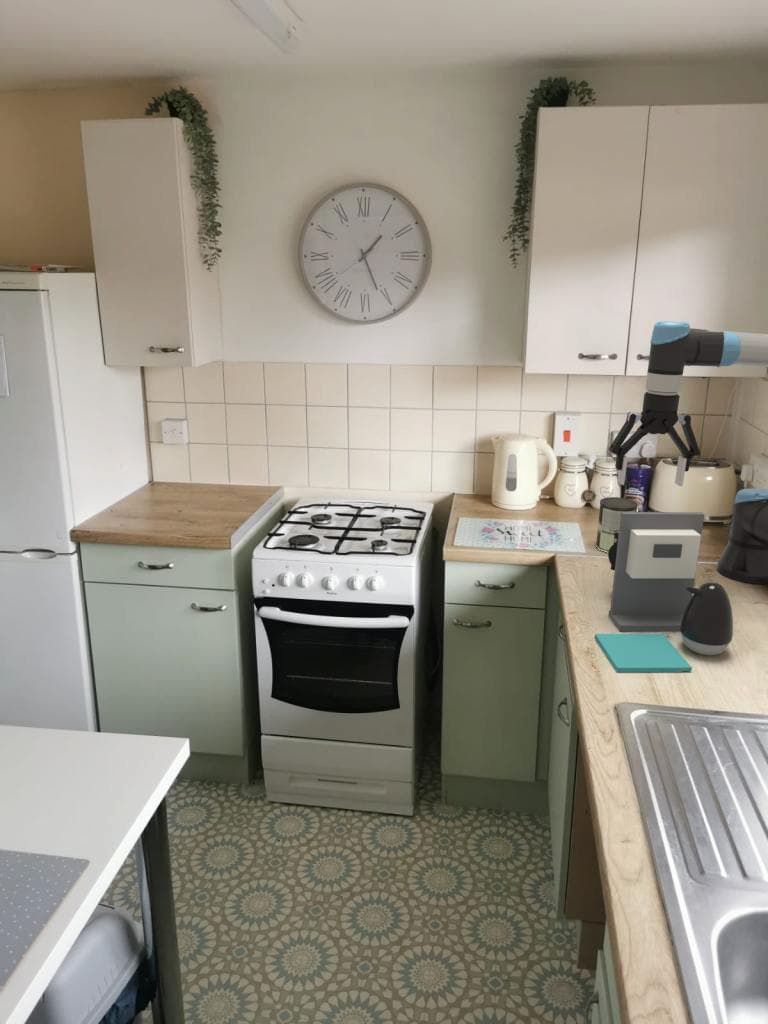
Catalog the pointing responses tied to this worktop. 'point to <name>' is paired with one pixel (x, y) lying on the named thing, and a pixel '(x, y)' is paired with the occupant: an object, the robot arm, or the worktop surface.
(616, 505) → the coffee can
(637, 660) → the mat
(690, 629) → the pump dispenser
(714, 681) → the worktop surface
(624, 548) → the mounted unit
